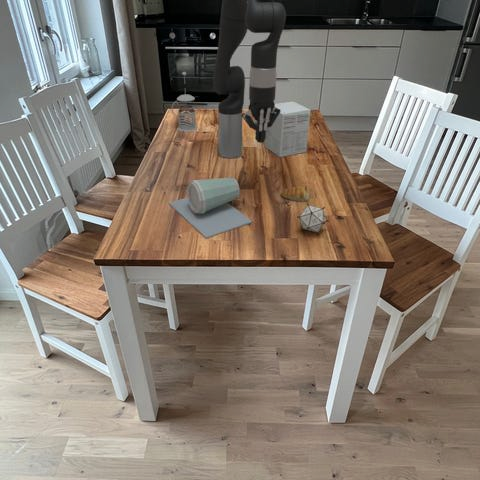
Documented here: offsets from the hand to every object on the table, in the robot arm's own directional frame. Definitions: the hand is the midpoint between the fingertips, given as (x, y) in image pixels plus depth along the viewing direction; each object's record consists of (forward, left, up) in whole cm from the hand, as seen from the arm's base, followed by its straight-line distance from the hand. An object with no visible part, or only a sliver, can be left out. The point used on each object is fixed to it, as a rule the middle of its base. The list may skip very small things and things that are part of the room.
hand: (260, 141), depth 127 cm
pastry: (+7, +11, -20) cm, 24 cm away
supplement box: (-28, +34, -19) cm, 48 cm away
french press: (-73, +11, -19) cm, 76 cm away
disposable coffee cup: (0, -9, -14) cm, 16 cm away
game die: (+25, +1, -19) cm, 32 cm away
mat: (0, -19, -19) cm, 27 cm away
